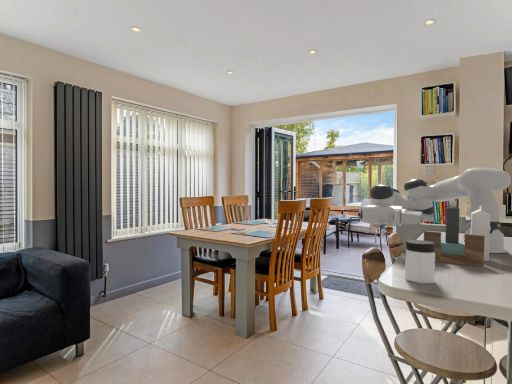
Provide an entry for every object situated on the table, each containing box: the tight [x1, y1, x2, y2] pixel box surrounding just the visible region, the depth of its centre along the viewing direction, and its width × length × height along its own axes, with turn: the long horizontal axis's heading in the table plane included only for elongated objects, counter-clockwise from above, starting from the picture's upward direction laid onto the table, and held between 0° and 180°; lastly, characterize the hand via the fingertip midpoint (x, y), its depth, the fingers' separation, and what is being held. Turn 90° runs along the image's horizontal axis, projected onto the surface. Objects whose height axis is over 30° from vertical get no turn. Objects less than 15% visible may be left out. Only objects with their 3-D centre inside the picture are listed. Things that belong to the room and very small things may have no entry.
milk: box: [470, 206, 490, 262], centre depth 132 cm, size 6×6×22 cm
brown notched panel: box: [423, 230, 485, 267], centre depth 125 cm, size 2×20×12 cm, turn 61°
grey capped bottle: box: [444, 200, 460, 244], centre depth 130 cm, size 4×4×17 cm
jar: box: [404, 239, 436, 285], centre depth 100 cm, size 9×8×12 cm
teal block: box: [441, 239, 465, 256], centre depth 130 cm, size 8×8×7 cm
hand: (434, 218), depth 133 cm, fingers open, 8 cm apart
